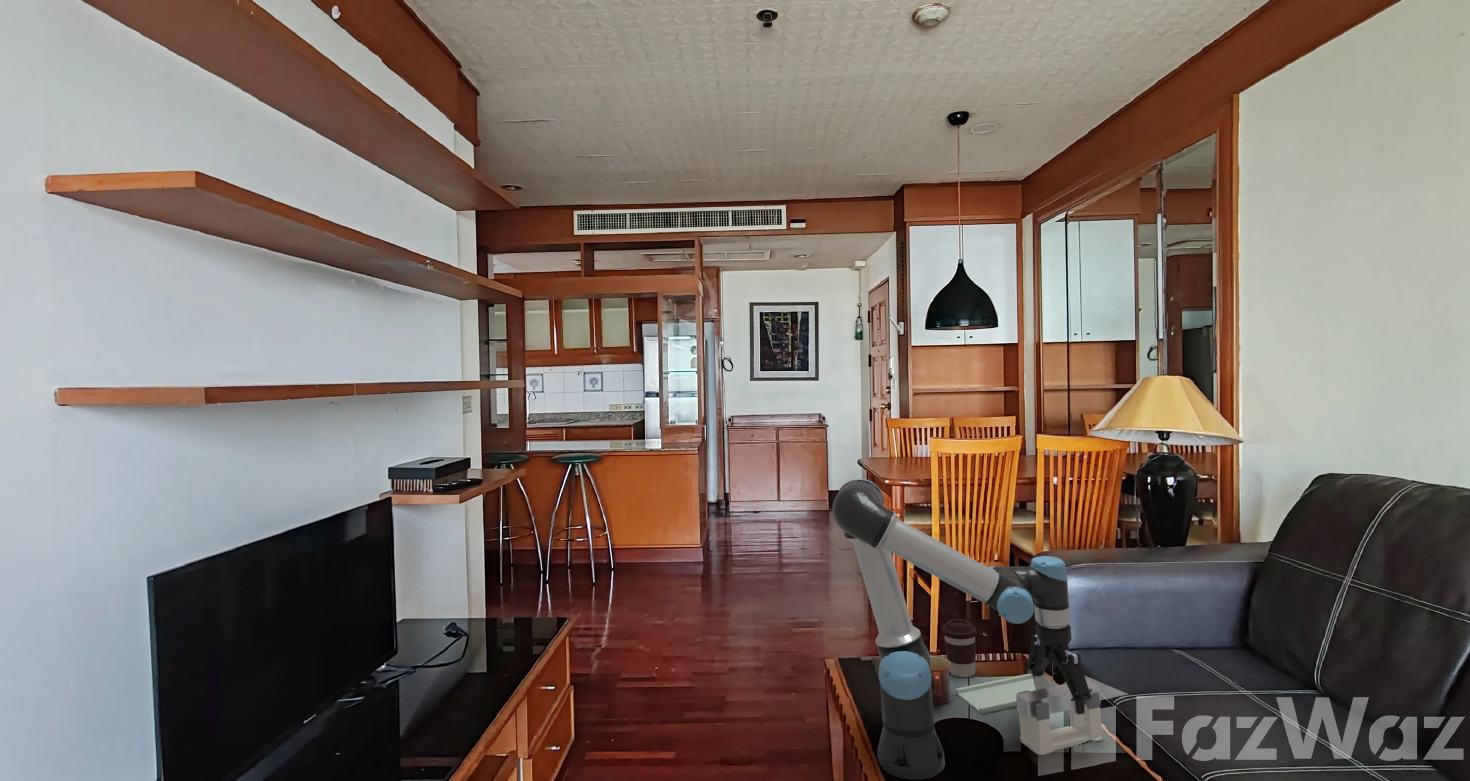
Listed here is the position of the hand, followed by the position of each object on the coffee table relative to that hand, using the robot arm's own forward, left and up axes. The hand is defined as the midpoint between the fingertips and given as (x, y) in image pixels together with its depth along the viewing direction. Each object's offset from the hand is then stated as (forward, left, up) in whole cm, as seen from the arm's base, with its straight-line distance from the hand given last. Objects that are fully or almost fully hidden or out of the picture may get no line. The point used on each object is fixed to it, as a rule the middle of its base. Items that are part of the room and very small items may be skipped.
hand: (1059, 713), depth 157 cm
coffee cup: (-1, +40, -7) cm, 41 cm away
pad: (+2, +23, -6) cm, 24 cm away
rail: (0, 0, +2) cm, 2 cm away
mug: (-17, +27, -7) cm, 33 cm away
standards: (0, 0, -6) cm, 6 cm away
